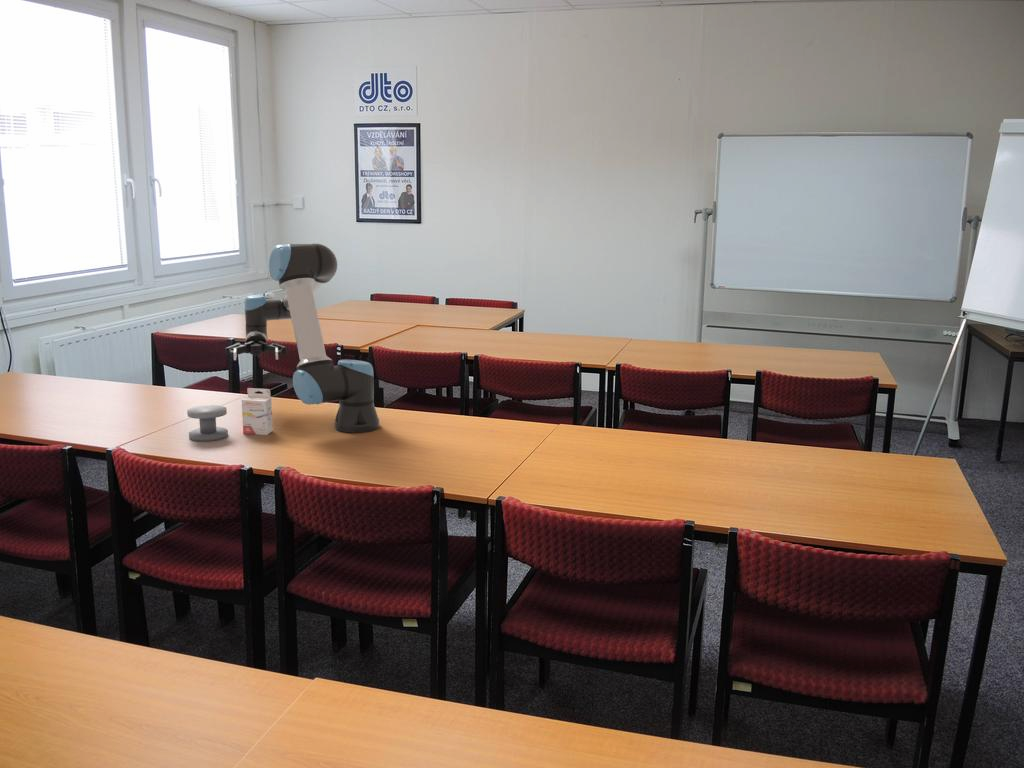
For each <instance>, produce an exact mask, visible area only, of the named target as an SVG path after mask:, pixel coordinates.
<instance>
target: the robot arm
mask: <svg viewBox="0 0 1024 768" xmlns="http://www.w3.org/2000/svg"><path fill="white" fill-rule="evenodd" d="M337 270H338V261H337V257H336V254H335V253H334V251H332V250H331V249H330V248H329V247H328V246H326V245H323V244H321V243H296V244H295V243H286V244H278V245H277V244H276V246H274V247H273V248H272V250H271V252H270V255H269V261H268V272H269V276H270V277H271V279H272V280H273V281H276V282H278V285H279V288H280V289H281V290H283V291H284V292H285V295H284V296H283V298H282V299H280V298H279V299H267V297H266V296H265V295H262V294H251V295H247V296H246V297H245V299H244V315H245V316H244V317H245V343H243V344H241V343H240V342H236V343H235V344H232V345H230V346H227V347H225V348H224V351H225V354H224V355H225V356H229V355H230V359H231V358H232V359H233V361H237V357H238V355H241V354H250V355H253V356H260V355H262V354H268V353H269V354H272V355H275V360H276V361H277V360H279V357H280V356H282V355H287V346H284V345H282V344H279V343H277V342H272V343H271V344H269V343H268V327H267V326H268V325H267V324H268V321H277V320H278V321H279V320H291V323H292V329H293V333H294V339H295V343H296V348H297V351H298V356H299V362H298V364H297V366H296V371H294V373H293V375H292V385H293V389H294V392H295V394H296V396H297V398H298V399H299V400H300V401H301V402H302V403H303V404H305V405H310V406H311V405H321V404H324V403H331V402H336V401H338V403H339V405H338V408H337V413H336V416H335V420H334V429H335V430H337V431H338V432H339V431H340V432H343V433H366V432H372V431H375V430H377V429H379V428H380V418H379V417H378V416H379V415H378V413H377V410H376V408H375V407H376V406H375V399H374V398H375V396H374V395H375V392H374V391H375V390H374V377H375V376H374V367H373V365H372V364H371V363H370V362H368V361H364V360H357V359H339V360H338V362H337V365H334V363H333V359H332V358H330V357H329V356H328V355H327V354H326V348H325V344H324V339H323V334H322V330H321V324H320V321H319V315H318V310H317V306H316V302H315V296H314V295H315V294H316V293H317V291H318V290H319V289H320V288H321V287H322V286H323V284H327V283H328V282H330V281H331V280H332V279H333V278H334V276H335V275H336V273H337Z"/></svg>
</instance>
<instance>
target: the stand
mask: <svg viewBox="0 0 1024 768" xmlns="http://www.w3.org/2000/svg"><path fill="white" fill-rule="evenodd" d="M227 413H228V411H227V407H226V406H224V405H218V404H217V405H215V404H211V405H210V404H207V405H198V406H195V407H193V406H192V407H191V408H188V409H187V413H186V414H187V417H188V418H190V419H197V420H199V428H195V429H193V430H190V431H189V432H188V439H190V440H191V441H194V442H214V441H220V440H223V439H226V438H228V436H229V431H228V429H227V428H225V427H221V426H217V418H220V417H224V416H225V415H227Z"/></svg>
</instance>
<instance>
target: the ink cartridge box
mask: <svg viewBox="0 0 1024 768" xmlns="http://www.w3.org/2000/svg"><path fill="white" fill-rule="evenodd" d="M246 390H247V391H246V392H247V396H246V397H244V398H243V399H241V413H242V431H243V432H242V433H243V434H247V435H259V436H268V435H269V434H270V433H271V432H273V431H274V430H273V411H272V410H273V409H272V398H271V397H272V395H271V390H270V388H253V387H247V388H246ZM258 392H260V393H258Z"/></svg>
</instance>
